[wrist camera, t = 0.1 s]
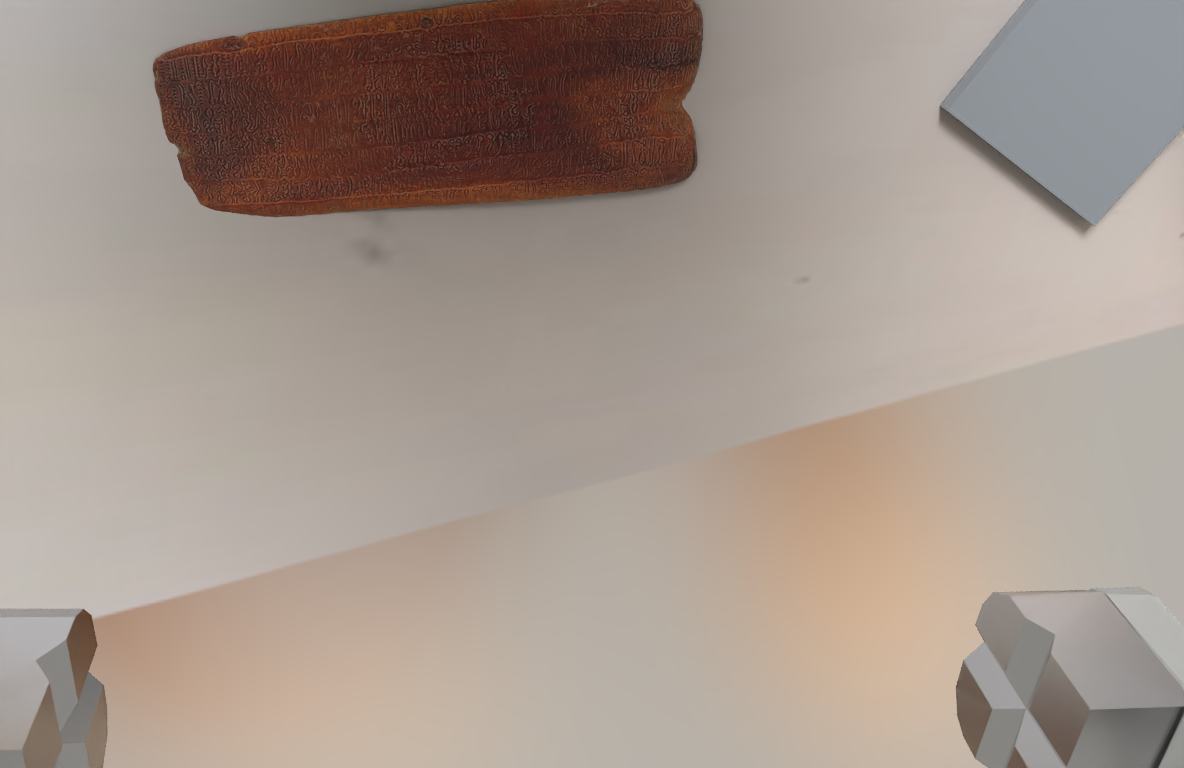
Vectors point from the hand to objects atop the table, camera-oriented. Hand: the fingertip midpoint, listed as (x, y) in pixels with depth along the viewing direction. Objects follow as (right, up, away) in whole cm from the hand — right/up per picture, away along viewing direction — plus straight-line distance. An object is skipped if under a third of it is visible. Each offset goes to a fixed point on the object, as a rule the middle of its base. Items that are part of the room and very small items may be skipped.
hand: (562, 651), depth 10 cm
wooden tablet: (-7, +17, +46) cm, 50 cm away
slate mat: (+27, +19, +49) cm, 59 cm away
